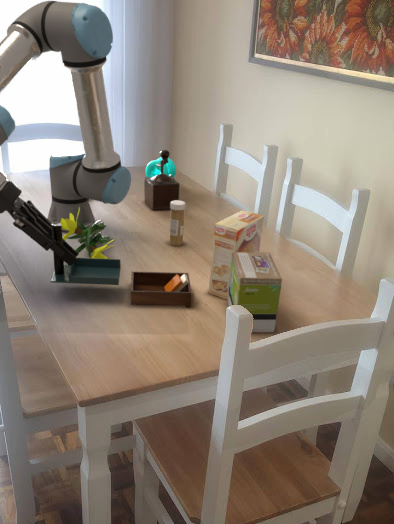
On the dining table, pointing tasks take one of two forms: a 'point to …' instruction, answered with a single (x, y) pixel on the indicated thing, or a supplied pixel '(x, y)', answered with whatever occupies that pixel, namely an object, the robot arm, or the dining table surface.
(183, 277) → the block
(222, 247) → the coffeecake box
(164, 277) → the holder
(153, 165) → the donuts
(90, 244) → the daffodil flowers
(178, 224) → the spice jar
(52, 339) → the dining table surface
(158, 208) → the wooden coffee grinder
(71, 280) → the green tray with post
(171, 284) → the sachet orange
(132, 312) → the dining table surface
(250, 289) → the tea box
